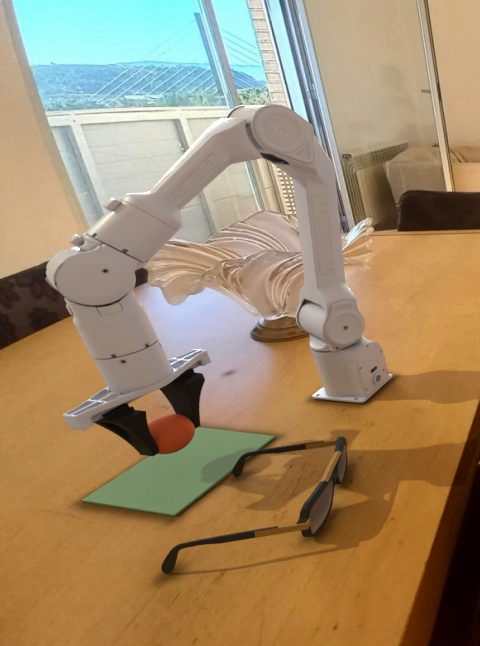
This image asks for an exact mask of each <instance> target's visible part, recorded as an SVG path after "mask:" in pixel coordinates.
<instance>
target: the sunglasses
mask: <svg viewBox="0 0 480 646" xmlns="http://www.w3.org/2000/svg"><path fill="white" fill-rule="evenodd" d="M348 444H349V437H346V436H343V435H340V436H337V438H333V439H327V440H326V439H325V440H318V441H310V442H303V443H302V442H301V443H295V444H288V445H282V446H277V447H271V448H270V447H269V448H264V449H263V448H262V449H260V450H257V451H252V452H247V453H245V454H243V455H242V456H241V457H240V458H239V460H238V461H237V463H236V464H235V466H234V468H233V470H232V472H231V474H232V476H233V477H234V478H239V477H241V475H242V474H243V472H244V468H245V464H246V461H247V460H246V458H247V457H249V456H251V457H254V456H259V455H267V454H269V455H270V454H283V453H291V452H299V451H305V450H306V451H307V450H313V449H314V450H315V449H321V448H328V447H334V451H333V455H332V456H331V459H330V461H329V462H328V464H327V466H326V468H325V471H324V473H323V475H322V477H321V479H320V481H319V482H318V483H317V485H316V486H315V488H314V489H313V491H312V492H311V493H310V495H309V496H308V498H307V499H306V500H305V502H304V503H303V505H302V507H301V508H300V511H299V516H298V520H297V521H296V522H295V523H289V524H288V523H287V524H282V525H275V526H269V527H263V528H256V529H251V530H246V531H245V530H244V531H239V532H234V533H233V532H232V533H227V534H223V535H222V534H221V535H217V536H212V537H206V538H200V539H196V540H191V541H186V542H182V543H178V544H176V545H174V546H173V547H172V548H171V549H170V550H169V552H168V553H167V555H166V556H165V557H164V560H163V562H162V564H161V567H160V569H161V572H162V573H163V574H165V575H169V574H171V573H173V571H174V570H175V567H176V564H177V559H178V555H179V552H180V551H181V550H183V549H187V548H192V547H193V548H194V547H198V546H205V545H218V544H227V543H233V542H238V541H244V540H249V539H257V538H264V537H268V536H269V537H270V536H275V535H276V536H277V535H282V534H287V533H294V532H298V531H300V532H301V535H302V537H303V538H314V537H315V536H318V534H319V533H320V532H321V530H323V528H324V526H325V524H326V523H327V521H328V519H329V517H330V514H331V512H332V508H333V504H334V496H335V487H336V486H337V485H343V484H344V482H345V480H346V476H347V471H348V449H347V446H348ZM245 460H246V461H245Z"/></svg>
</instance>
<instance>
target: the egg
mask: <svg viewBox="0 0 480 646" xmlns="http://www.w3.org/2000/svg"><path fill="white" fill-rule="evenodd" d="M147 423H148V427H149V430H150V433H151V435H152V437H153V439H154V441H155V442H156V444H157V446H158V450H159V453H158V454H171V453H175V452H177V451H179V450H181V449H183V448H184V447H186V446H187V445H188V444H189V443H190V442H191V440H192V439H193V437H194V434H195V427H194V424H193V422H192V421H191V420H190V419H189V418H187V417H186V416H183V415H179V414H176V413H166V414H162V415H160V416H157V417H155V418H154V419H152V420H150V422H147Z"/></svg>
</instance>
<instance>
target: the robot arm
mask: <svg viewBox="0 0 480 646" xmlns="http://www.w3.org/2000/svg"><path fill="white" fill-rule="evenodd" d="M260 159H263V160H266V161H268V162H270V163H271V164H272V165H274V166H275V167H277V168H278V169H279V170H281V171H282V172H283V173H285V174H286V175H287V176H289V177H290V178H291V179H292V187H293V194H294V203H295V210H296V220H297V229H298V236H299V245H300V254H301V261H302V270H303V278H304V284H303V285H302V287H301V289H300V290H299V304H298V306H297V309H296V311H295V318H294V319H295V322H296V325H297V326H298V327H299V329H300V330H301V331H303V332H305V333H307V334H308V335H309V347H310V351H311V353H312V357H313V359H314V363H315V366H316V369H317V372H318V375H319V377H320V381H321V384H322V387H321V388H320V389H318V390H317V391H316V392H314V393H313V394H312V395H311V398H312V399H314V400H323V401H324V400H325V401H336V402H346V403H354V404H363V403H365V402H367V401H368V400H369V399H370V398H371V397H372V396H374V395H375V394H376V393H377V392H378V391H379V390H380V389H381V388H383V386H384V385H386V384H387V383H388V382H389V381H390V380H391V379H392V378H393V377H394V375H393V373H389V369H388V366H387V362H386V358H385V354H384V351H383V348H382V346H381V345H380V344H379V343H378V342H376V341H373V340H371V339H368V338H366V337H364V336H363V334H364V331H365V326H366V322H365V318H364V316H363V314H362V312H361V311H360V310H359V308H358V303H357V302H358V301H357V297H356V295H355V294H354V292H352V290H351V288H350V287H349V286H348V284H347V282H346V273H345V265H344V263H345V262H344V253H343V252H344V251H343V243H342V233H341V223H340V211H339V200H338V190H337V181H336V180H337V179H336V170H335V166H334V163H333V161H332V160H331V158H330V156H329V155H328V154H327V152H326V151H325V149H324V147H323V146H322V144H321V143H320V142H319V140H318V138H317V136H316V135H315V131H314V126H313V125H312V123H311V122H309V121H307V119H305V118H304V117H302V116H301V115H299V113H297V112H296V111H295V110H293V109H292V108H290V107H288V106H285V105H283V104H278V103H269V104H265V105H254V104H241V105H237V106H235V107H233V108H232V109H230V110H229V111H228V112H227V114H226V116H225V117H221V118H219V119H218V120H216V121H214V122H213V123H212V124H211V125H210V126H209V127H208V128H207V129H206V130H205V131H204V132H203V133H202V134H201V135H200V137H198V139H197V140H196V141H194V143H193V144H192V145H191V146H190V147H189V148H188V149H187V150H186V152H184V153H183V155H182V156H181V157H179V159H178V160H177V161H176V162H175V163H174V164H173V165H172V167H171V168H169V169H168V171H167V172H166V173H165V174H164V175H163V176H162V177H161V178H160V179H159V180H158V181H157V182H156V184H154V186H153V187H152V188H151V189H150V190H149V191H147V192H135V193H134V192H133V193H132V192H131V193H130V192H129V193H125V194H123V196H122V197H121V198H120V199H119V200H118V199H116V198H114V197H111V198H109V199H108V200H107V201H106V202H105V203H104V204H102V207H103V208H104V209H106V210H107V211H106V212H105V213H104V214H103V215H102V216H101V217H100V218H99V219H98V220H97V221H95V222H94V223H93V225H91V226H90V227H89V228H88V229H87V230H86V231H85V232H84V233H83V234H81V235H78V234H73V235H72V236H71V237H70V238H69V239H68V241H67V242H68V243H69V244H71V245H72V246H73V247H70V248H67V249H62V250H61V251H58V252H57V253H55V254H54V255H53V256H52V257H51V258H50V259H49V260H48V262H47V264H46V266H45V269H46V271H45V275H46V277H45V281H46V283H48V285H49V286H50V287H51V288H53V290H55V291H57V292H59V294H60V295H62V296H63V297H64V298H63V299H64V302H65V303H66V304H65V308H66V310H67V312H68V313H69V314H70V316H72V317H73V318H72V323H73V326H74V327H75V329H76V331H77V333H78V334H79V337H80V339H81V340H82V342H83V344H84V347H86V350H87V351H88V353H89V355H90V357H91V358H92V360H93V362H94V364H95V365H96V369H98V371H99V373H100V375H101V377H102V379H103V381H104V382H105V385H106V387H104V388H102V389H101V390H100V391H98V392H96V393H95V394H93V395H92V396H90V397H89V398H88V399H86V400H85V401H83V402H82V403H80V404H79V405H77V406H76V407H74V408H72V409H70V410H69V411H66V412H65V413H62V415H61V416H62V418H63V420H64V421H65V423H66V425H67V426H68V428H69V429H70V430H75V431H83V432H84V431H86V430H88V429H90V428H92V427H94V425H98V426H100V427H102V428H104V429H106V430H108V431H110V432H112V433H113V434H115V435H116V436H118V437H120V438H121V439H122V440H124V441H125V442H126V443H127V444H128V445H130V446H131V447H132V448H134V449H135V451H136V452H137V453H138V454H139V455H140V456H146V457H149V456H155V455H156V454H158V453H159V450H158V446H157V444H156V442H155V441H154V439H153V437H152V435H151V433H150V430H149V427H148V423H149V422H148V419H147V411H146V410H139V409H135V407H134V406H133V405H132V406H130V405H129V404H131V403H133V402H135V401H137V400H139V399H141V398H142V397H144V396H146V395H148V394H150V393H152V392H155V391H158V390H160V391H161V393H162V394H163V396H165V398H166V399H167V401H168V402H169V404H170V405H171V407H172V409H173V411H174V414H179V415H183V416H186V417H187V418H189V419H190V420H191V421H192V422H193V424H194V427H195V428H198V427H201V416H200V415H201V414H200V412H201V411H200V403H201V395H202V390H203V387H204V384H205V381H206V379H205V376H204V374H203V373H202V372H195V369H197V368H199V367H205V366H207V365H209V364H211V363H212V360H211V358H210V356H209V355H210V354H209V353H208V350H207V349H198V348H197V349H196V348H193V349H192V350H190V351H187V352H185V353H183V354H180V355H177V356H174V357H172V358H168V356H167V354H166V352H165V350H164V347H163V346H162V343H161V341H160V339H159V337H158V335H157V333H156V331H155V329H154V328H155V327H154V326H153V324H152V323H151V320H150V318H149V315H148V314H147V311H146V309H145V307H144V305H143V304H142V303H141V302H140V301H139V299H138V297H137V295H136V293H135V291H134V289H135V286H136V282H137V277H136V271H138V270H140V269H142V268H144V267H145V266H146V264H148V262H149V261H151V259H153V258H154V256H155V255H156V254H158V252H159V251H161V249H163V247H164V246H165V245H166V244H167V243H168V242H169V241H170V240H171V239H172V238H173V237H174V236H176V234H177V233H178V232H179V231H180V230H181V229H182V228H183V220H182V215H181V211H182V209H183V208H185V207H186V206H187V205H188V204H189V203H190V202H191V201H192V200H193V199H195V198H196V197H197V196H198V195H199V194H200V193H201V192H202V191H203V190H205V188H206V187H208V186H209V185H210V184H211V183H212V182H213V181H214V180H215V179H216V178H217V177H219V176H220V175H221V174H223V172H225V170H226V169H227V168H229V167H230V166H232V165H234V164H240V163H245V162H251V161H256V160H260Z"/></svg>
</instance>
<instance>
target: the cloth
mask: <svg viewBox="0 0 480 646" xmlns="http://www.w3.org/2000/svg"><path fill="white" fill-rule="evenodd" d="M275 438H276V436H275V435H268V434H261V433H253V432H252V433H251V432H244V431H234V430H226V429H219V428H218V429H217V428H210V427H209V428H208V427H201V426H199V427H198V428H195V434H194V437H193V439H192V440H191V442H190V443H189V444H188V445H187V446H186V447H184V448H183V449H181V450H179V451H177V452H175V453H171V454H156V455H155V456H146V458H144V459H142V460H141V461H139V462H138V463H137V464H135V465H133V466H132V467H130V468H128V469H127V470H125V471H124V472H122V473H120V474H119V475H118V476H116V477H115V478H113V479H111V480H110V481H109V482H107V483H106V484H104V485H102V486H100V487H99V488H98V489H96V490H94V491H93V492H92V493H90V494H89V495H87V496H86V497H84V498H82V499H81V502H82V503H87V504H93V505H99V506H106V507H113V508H120V509H125V510H131V511H139V512H142V513H143V512H144V513H149V514H150V513H151V514H157V515H163V516H170V517H177V516H178V515H180V514H181V513H182V512H183V511H184V510H186V509H187V508H189V506H191V505H192V504H194V503H195V502H196V501H197V500H198V499H199V498H200V497H202V496H204V495H205V494H206V493H207V492H208V491H210V490H211V489H212V488H214V487H215V486H216V485H218V484H219V483H220V482H221V481H222V480H224V479H226V477H228V476H229V475H230V474H232V470H233V468H234V466H235V464H236V463H237V461H238V460H239V458H240V457H241V456H242V455H243V454H245V453H247V452H252V451H257V450H262V449H263V448H264V447H265V446H266V445H268V444H269V443H270V442H272V441H273V440H274V439H275ZM251 457H252V456H249V457H247V458H246V460H245V462H246V461H248V460H249V459H250V458H251Z"/></svg>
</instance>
